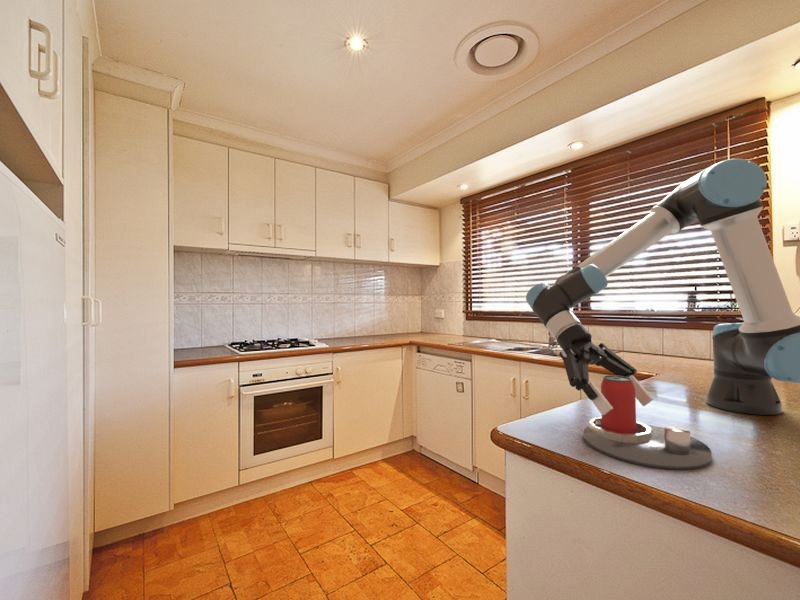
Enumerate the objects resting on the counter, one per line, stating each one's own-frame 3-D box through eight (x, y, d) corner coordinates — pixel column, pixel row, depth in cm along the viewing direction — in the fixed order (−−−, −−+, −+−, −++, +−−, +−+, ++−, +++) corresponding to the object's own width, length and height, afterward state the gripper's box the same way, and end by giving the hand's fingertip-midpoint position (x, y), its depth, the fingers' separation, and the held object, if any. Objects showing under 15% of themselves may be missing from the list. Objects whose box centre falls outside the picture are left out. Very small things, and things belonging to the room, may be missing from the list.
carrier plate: (673, 429, 85) (672, 407, 85) (742, 474, 63) (741, 444, 63) (572, 424, 89) (571, 403, 89) (604, 465, 67) (603, 437, 67)
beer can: (631, 428, 83) (630, 375, 83) (640, 438, 76) (638, 381, 76) (599, 425, 85) (597, 374, 85) (605, 435, 79) (603, 380, 79)
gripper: (593, 339, 100) (651, 407, 86) (524, 345, 89) (578, 425, 76) (611, 320, 95) (676, 390, 81) (540, 325, 84) (600, 406, 71)
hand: (629, 407), depth 78 cm, fingers open, 13 cm apart
